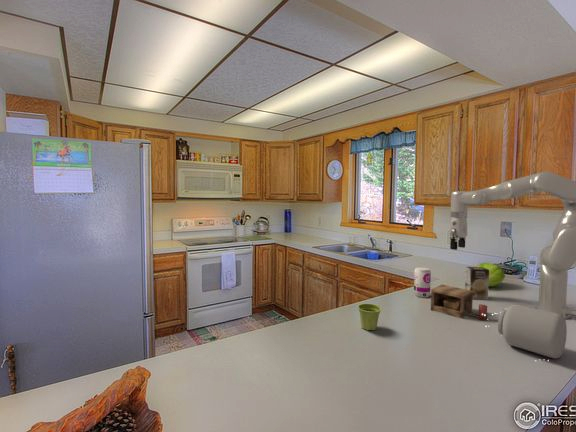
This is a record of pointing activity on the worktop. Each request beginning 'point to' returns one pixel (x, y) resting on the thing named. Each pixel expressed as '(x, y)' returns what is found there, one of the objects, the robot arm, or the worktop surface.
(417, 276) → the supplement can
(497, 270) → the lettuce
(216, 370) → the worktop surface
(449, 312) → the open wooden crate
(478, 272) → the coffee box
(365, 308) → the plant pot
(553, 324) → the jar
